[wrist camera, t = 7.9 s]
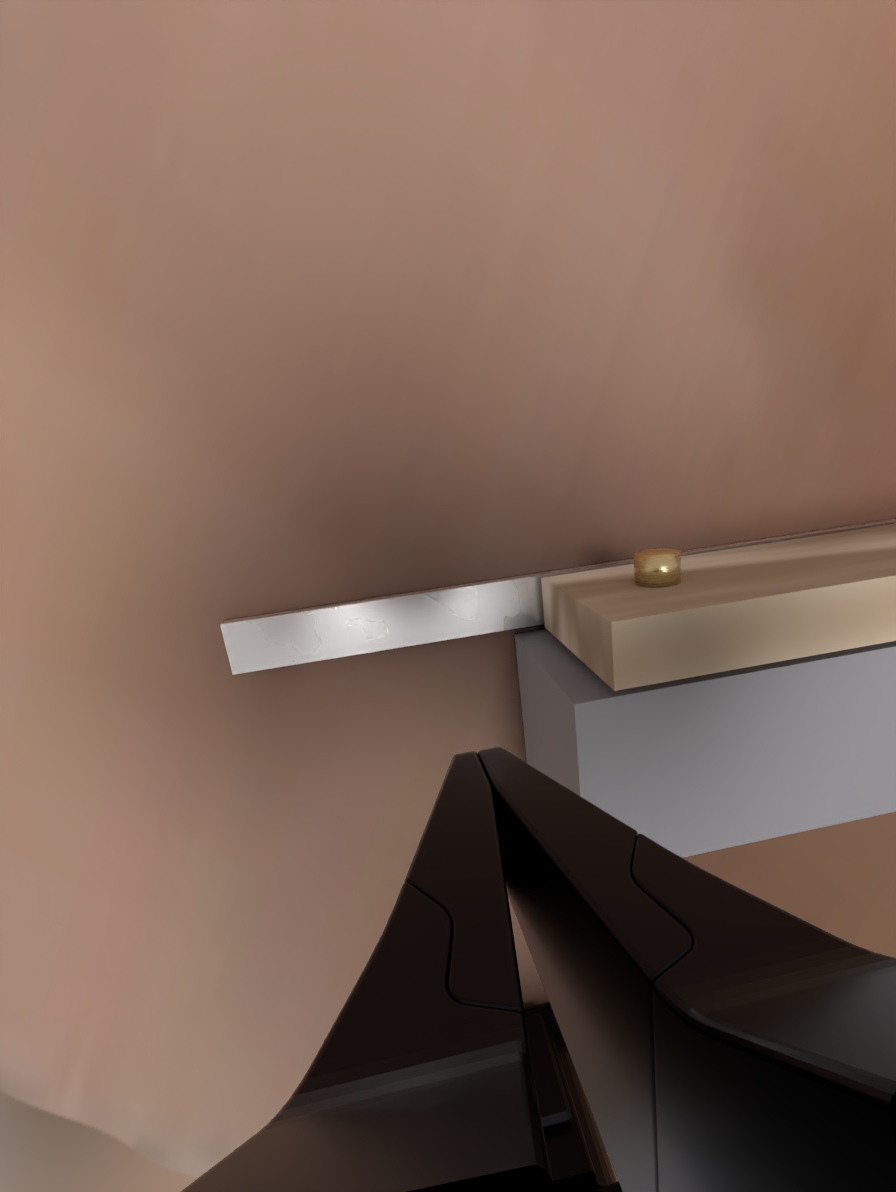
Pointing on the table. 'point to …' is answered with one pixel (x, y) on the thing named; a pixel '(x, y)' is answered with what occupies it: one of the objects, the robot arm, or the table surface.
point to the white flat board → (412, 616)
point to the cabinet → (717, 743)
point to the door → (726, 606)
